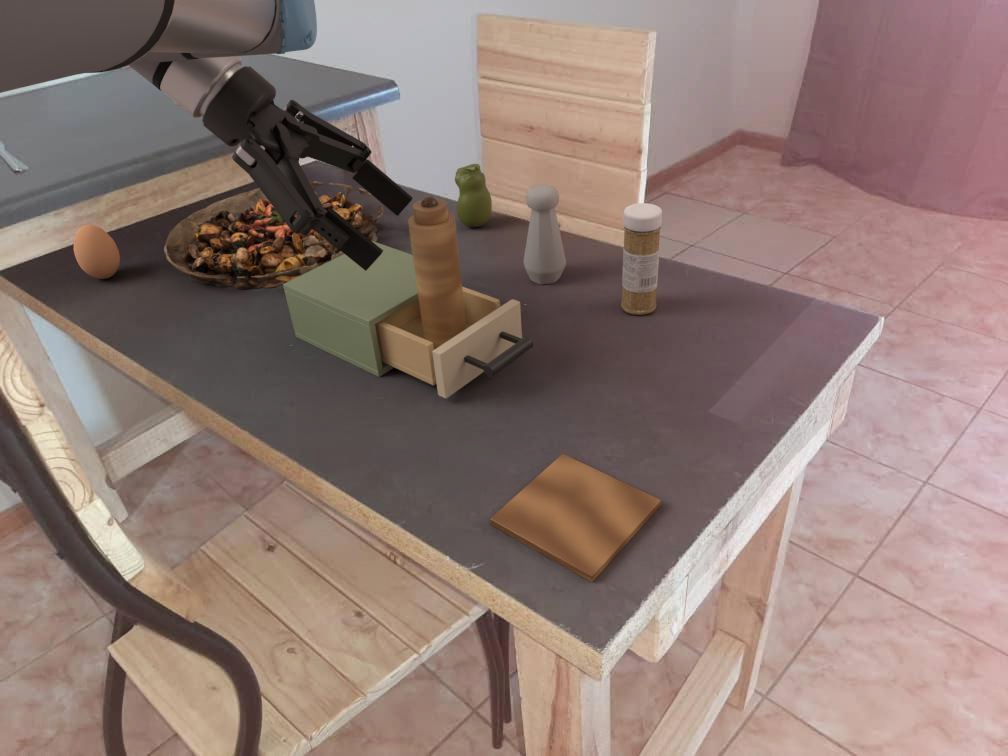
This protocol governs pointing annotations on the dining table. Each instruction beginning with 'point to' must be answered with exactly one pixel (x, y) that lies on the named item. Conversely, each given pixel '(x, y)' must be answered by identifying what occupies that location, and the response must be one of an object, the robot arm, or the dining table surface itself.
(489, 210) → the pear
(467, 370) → the drawer
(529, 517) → the square wooden board
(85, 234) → the egg
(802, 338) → the dining table surface
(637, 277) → the spice jar
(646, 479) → the dining table surface
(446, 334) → the pepper mill
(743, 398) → the dining table surface
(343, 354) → the cabinet
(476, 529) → the dining table surface
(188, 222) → the food dish
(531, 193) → the salt shaker
